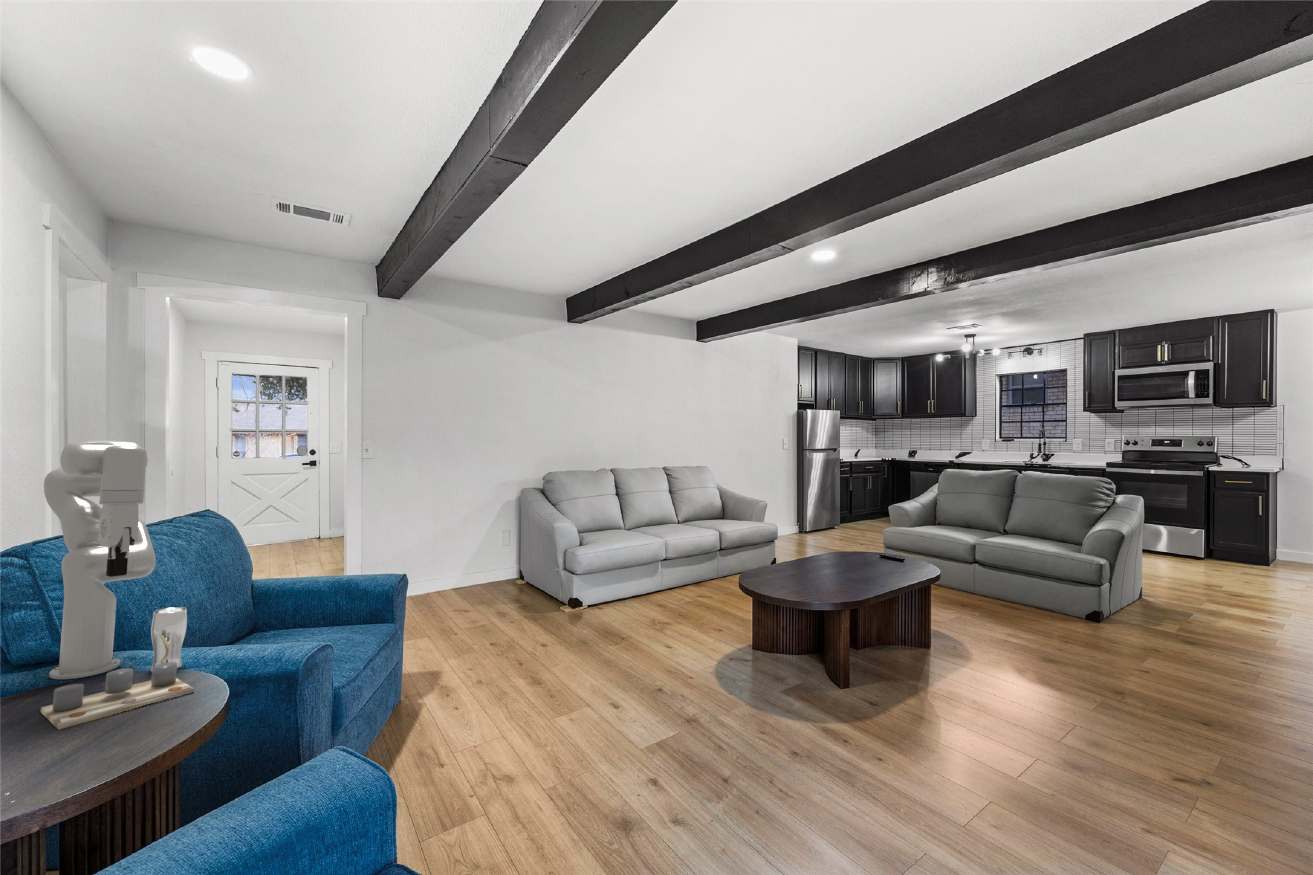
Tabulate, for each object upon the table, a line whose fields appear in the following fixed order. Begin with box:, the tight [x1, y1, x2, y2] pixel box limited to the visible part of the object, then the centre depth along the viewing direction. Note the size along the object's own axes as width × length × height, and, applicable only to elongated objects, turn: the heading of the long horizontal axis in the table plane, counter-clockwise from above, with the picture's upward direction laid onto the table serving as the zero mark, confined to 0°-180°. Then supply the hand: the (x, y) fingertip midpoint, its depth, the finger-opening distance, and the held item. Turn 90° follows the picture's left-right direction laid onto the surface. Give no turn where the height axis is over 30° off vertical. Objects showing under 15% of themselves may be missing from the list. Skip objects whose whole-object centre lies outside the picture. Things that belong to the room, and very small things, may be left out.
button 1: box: [52, 683, 85, 711], centre depth 118 cm, size 4×4×4 cm
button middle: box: [104, 667, 134, 694], centre depth 124 cm, size 4×4×4 cm
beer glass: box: [150, 606, 188, 673], centre depth 144 cm, size 7×7×15 cm
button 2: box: [151, 662, 178, 686], centre depth 131 cm, size 4×4×4 cm
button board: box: [40, 677, 195, 731], centre depth 123 cm, size 14×22×2 cm, turn 148°
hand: (116, 575), depth 129 cm, fingers closed
